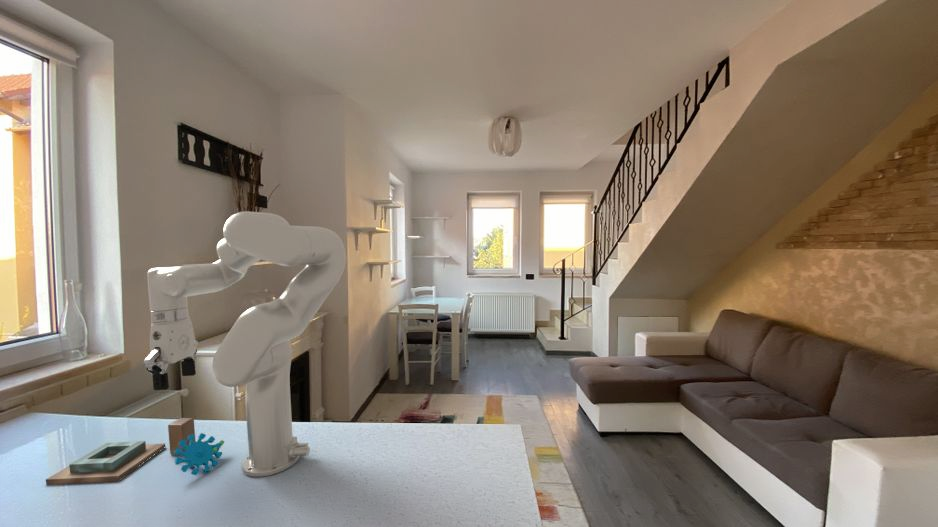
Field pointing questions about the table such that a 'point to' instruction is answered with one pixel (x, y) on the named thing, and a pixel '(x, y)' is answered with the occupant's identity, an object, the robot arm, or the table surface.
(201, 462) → the gear
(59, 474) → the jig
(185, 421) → the wooden block
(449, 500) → the table surface
